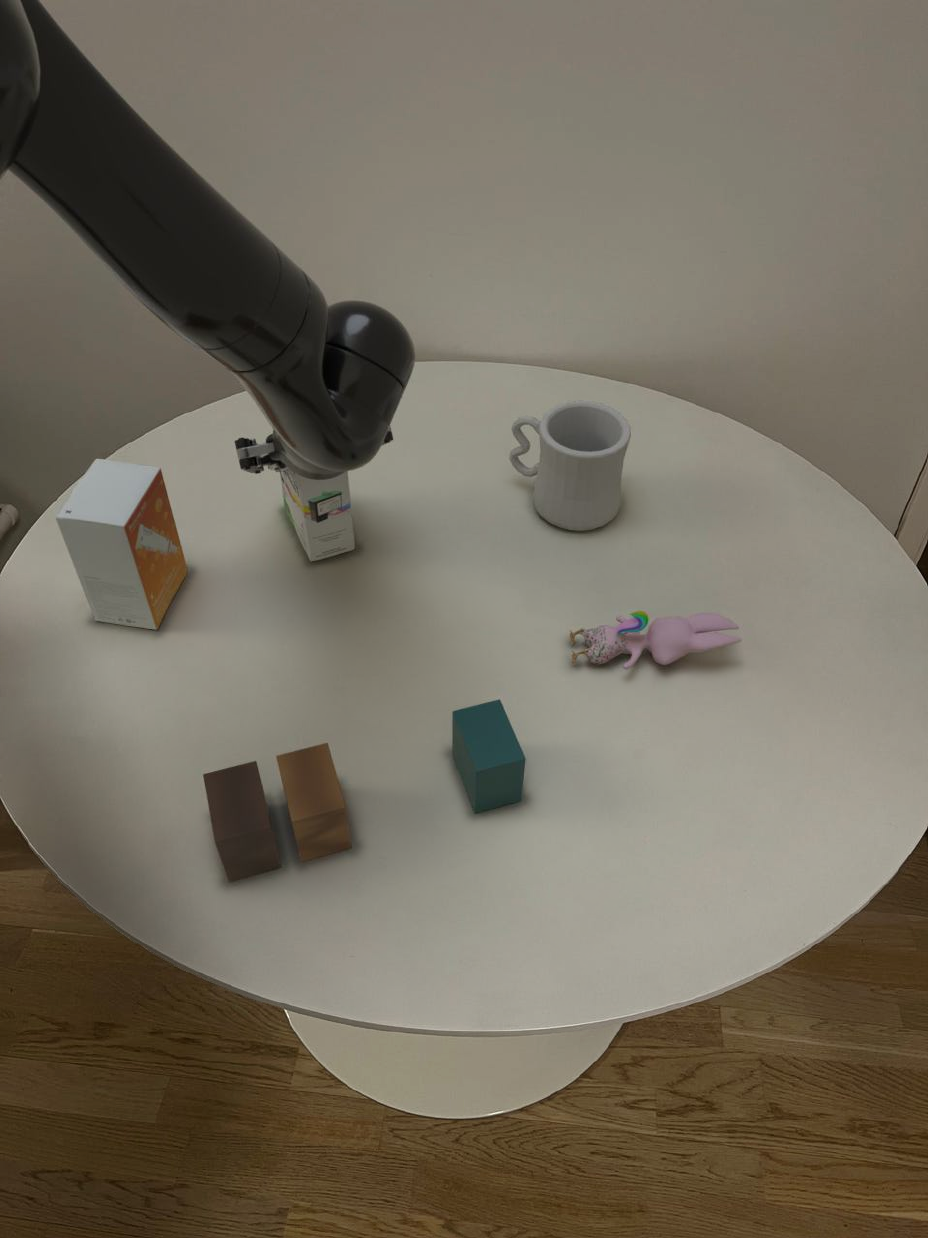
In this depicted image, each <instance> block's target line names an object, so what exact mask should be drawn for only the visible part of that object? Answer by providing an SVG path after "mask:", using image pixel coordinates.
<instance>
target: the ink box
mask: <svg viewBox="0 0 928 1238" xmlns="http://www.w3.org/2000/svg"><path fill="white" fill-rule="evenodd" d="M279 476H280V485H281V492H282V498H283V504H284V511H285V513H286V515H287V517H288V519H289V521H290V523H291V524H292V527H293V529H294V531H295V534H296V535H297V538H298V539H299V541H300V544H301V545H302V548H303V549H304V552H305V553H306V556H307V558H308V559H309V561H310V562H316V561H320V560H323V559H327V558H328V559H329V558H331V557H335V556H337V555H340V554H341V555H342V554H344V553H348V552H351V551H353V550H355V548H356V543H355V541H356V540H355V533H354V523H353V514H352V504H351V493H350V483H349V482H350V481H349V471H346V472H344V473H343V474H341V475H339V476H337V477H334V478H331V479H326V480H313V479H308V478H305V477H302V476H300V475H298V474H296V473H295V472H293V471H292V470H291V469H290V470H284V471H281V472H279Z"/></svg>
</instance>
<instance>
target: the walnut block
mask: <svg viewBox="0 0 928 1238" xmlns="http://www.w3.org/2000/svg"><path fill="white" fill-rule="evenodd" d="M202 777H203V782H204V788H205V794H206V799H207V806H208V812H209V816H210V817H209V818H210V821H211V827H212V833H213V838H214V844H215V847H216V849H217V853H218V855H219V859H220V861H221V864H222V867H223V870H224V872H225V873H224V874H225V875H226V878H227V881H228V883H230V882H235V881H238V880H241V879H245V878H248V877H253V876H256V875H260V874H262V873H267V872H270V871H274V870H278V869H280V868H282V865H281V859H280V854H279V851H278V846H277V842H276V838H275V837H276V836H275V832H274V829H273V824H272V823H273V822H272V819H271V814H270V810H269V806H268V802H267V798H266V793H265V789H264V786H263V782H262V777H261V774H260V770H259V766H258V762H257V761H256V760H254V761H250V762H245V763H242V764H238V765H235V766H230V767H225V768H222V769H218V770H214V771H211V772H207V773H206V772H205V773H203V774H202Z"/></svg>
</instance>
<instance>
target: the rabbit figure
mask: <svg viewBox="0 0 928 1238" xmlns="http://www.w3.org/2000/svg"><path fill="white" fill-rule="evenodd" d="M629 616H632V617H630V618H628V619H626V618H625V617H624V616H622V615H621V614H618V615H616V617H615V620H616V621H617V622H619V624H618V625H617V626H615V627H614V626H612V625H606V624H604V625H599V626H597V627H594V628H589V629H587V628H583V627H581V628H579V629H578V630H576V631H574V632H573V631H572V630H571V629H569V632H570V633H569V639H570V642H571V644H570V646H572V645H573V644H574V641H575V637H576V636H577V635H582V636H583V638H584V640H585V643H586V645H587V646H588V648H584V649H582V650H580V651H578V652H575V651H574V650H571V653H572V654H571V659H572V663H573V664H572V666H576V664H577V659H578V657H579V656H580V655H585V656H586V657H587V659H588V660H589V661H590V663H592V665H593V664H594V665H604V664H606V663H608V662H609V661H612V660H613V659H614V658H616V657H617V656H619V655H621V654H625V655H631V657H630V659H629V660H628V661H626V662H625V663H624V664H623V669H624V670H629V669H631V668H632V666H634V665H635V664H636V663H637V661H638V660H639V658H640V657H641V655H642V652H643V649H647V651H648V652H649V653H650V654H651V655H652V658H653V660H654V661H655V662H656V664H659V665H662V666H667V665H669V664H672V663H674V662H675V661H678V660H679V659H681V658H683V657H684V656H686V655H687V654H690V653H699V652H700V653H701V652H705V651H709V650H713V649H717V648H720V647H724V646H729V645H732V644H737V643H740V642H742V639H743V638H741V637H739V636H736V635H732V634H729V633H724V632H719V631H729V630H738V629H739V628H740V627H739V625H738V624H737V623H735V622H734V621H732V620H731V618H729V617H726V616H724V615H722V614H720V613H716V612H697V613H694V614H691V615H689V616H688V617H682V616H677V615H668V616H662V617H657V618H655V619H654V620H653V621H651V622H650V624H649V615H648V614H647V613H646V612H645V611H644V610H643V611H642V610H636V611H634V612H631V613H630V614H629ZM648 625H649V627H648V629H647V632H646V633H645V634H642V633H640V632H641V631H643V630H644V629H645V628H646V627H647V626H648Z"/></svg>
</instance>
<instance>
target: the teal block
mask: <svg viewBox="0 0 928 1238" xmlns="http://www.w3.org/2000/svg"><path fill="white" fill-rule="evenodd" d="M451 716H452V718H451V719H452V722H451V723H452V726H451V728H452V729H451V730H452V731H451V732H452V733H451V735H452V736H451V737H452V738H451V740H452V741H451V743H452V744H451V748H452V749H451V752H452V754H451V756H452V757H453V760H454V763H455V766H456V769H457V770H458V773H459V776H460V778H461V781H462V784H463V787H464V790H465V792H466V794H467V797H468V799H469V800H468V801H469V802H470V805H471V808H472V810H473V813H474V814H478V813H483V812H487V811H489V810H492V809H497V808H501V807H505V806H507V805H510V804H511V805H512V804H514V803H518V802H522V798H523V790H524V789H523V788H524V781H525V769H526V756H525V754H524V751H523V749H522V747H521V744H520V742H519V740H518V738H517V735H516V733H515V731H514V728H513V726H512V724H511V722H510V719H509V716H508V714H507V712H506V710H505V707H504V705H503V703H502V701H501V699H500V698H499V699H495V700H490V701H487V702H483V703H479V704H475V705H471V706H467V707H464V708H459V709H456V710H455V709H454V710H453V711H452V714H451Z"/></svg>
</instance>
